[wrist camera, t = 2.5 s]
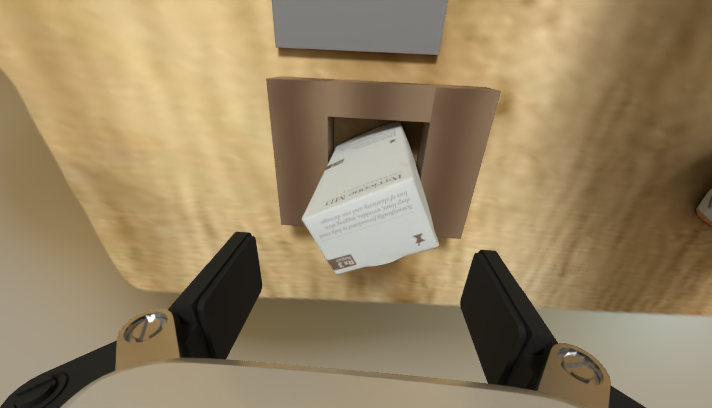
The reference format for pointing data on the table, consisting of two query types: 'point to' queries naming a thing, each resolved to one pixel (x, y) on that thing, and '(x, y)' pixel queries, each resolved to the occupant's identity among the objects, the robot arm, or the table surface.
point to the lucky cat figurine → (705, 209)
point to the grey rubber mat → (360, 25)
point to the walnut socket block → (385, 102)
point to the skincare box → (370, 203)
